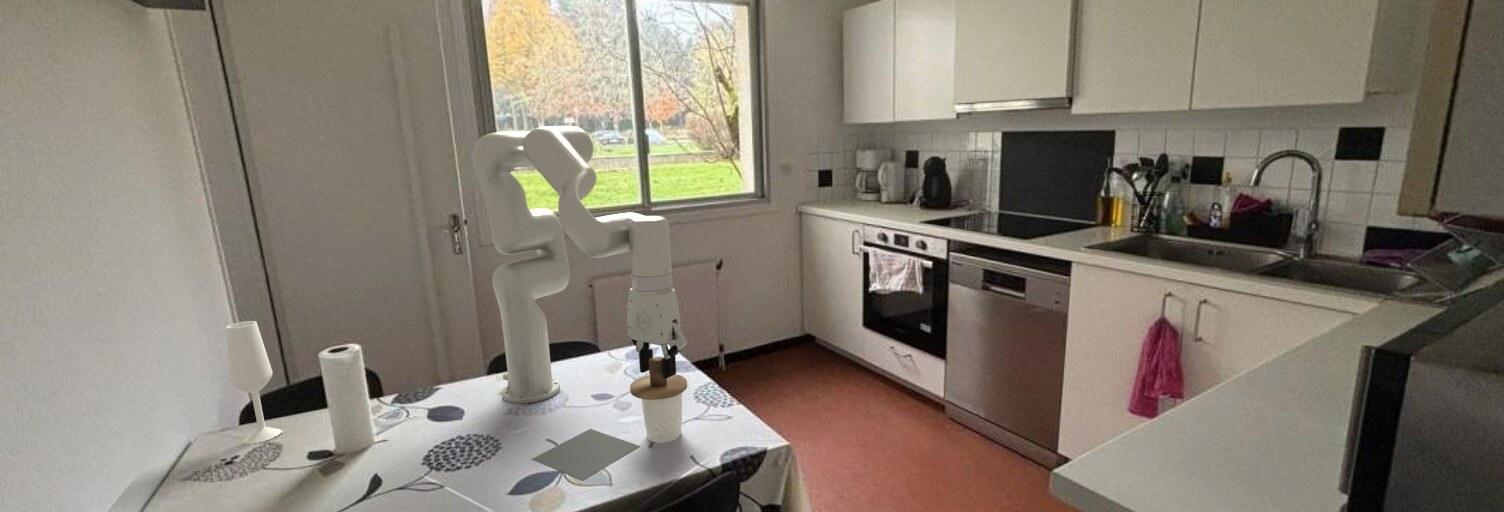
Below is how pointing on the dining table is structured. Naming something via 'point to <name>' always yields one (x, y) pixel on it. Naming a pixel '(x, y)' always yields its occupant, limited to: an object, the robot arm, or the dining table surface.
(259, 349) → the champagne flute
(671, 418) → the white cup
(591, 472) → the mat
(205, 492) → the dining table surface
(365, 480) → the dining table surface
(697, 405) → the dining table surface
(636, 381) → the lid
